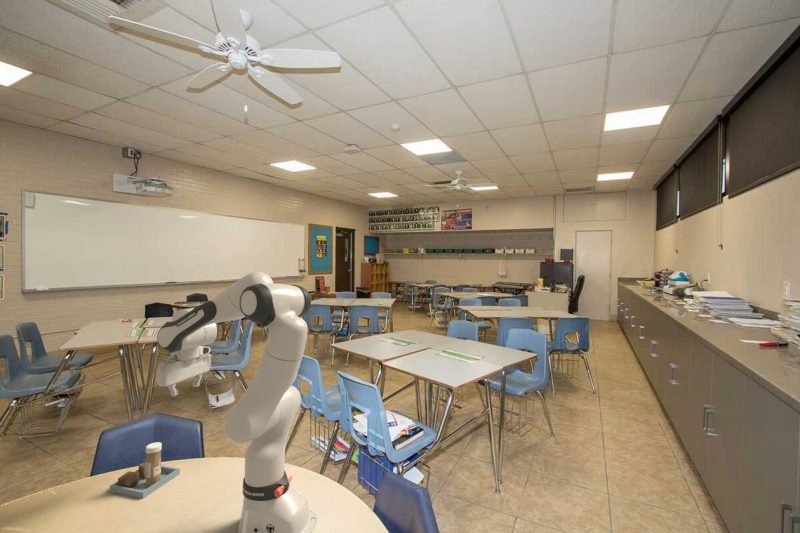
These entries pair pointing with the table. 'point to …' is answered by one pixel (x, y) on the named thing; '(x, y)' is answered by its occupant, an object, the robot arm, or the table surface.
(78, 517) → the table surface
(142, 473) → the walnut block
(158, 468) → the sprinkles bottle
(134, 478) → the walnut block
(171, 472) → the tray
